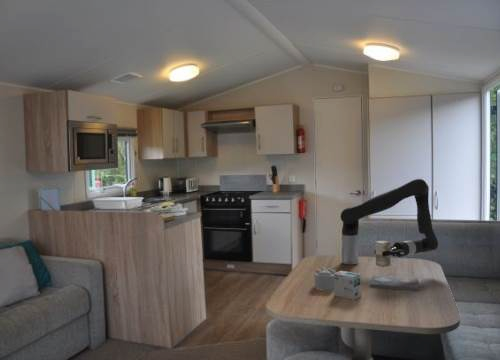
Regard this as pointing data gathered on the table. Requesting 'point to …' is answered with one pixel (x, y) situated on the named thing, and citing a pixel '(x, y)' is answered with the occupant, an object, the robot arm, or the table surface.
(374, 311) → the table surface
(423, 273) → the table surface
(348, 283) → the light bulb box
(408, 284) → the charcoal board
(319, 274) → the lumpy-topped squat cylinder
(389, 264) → the pale ash block
